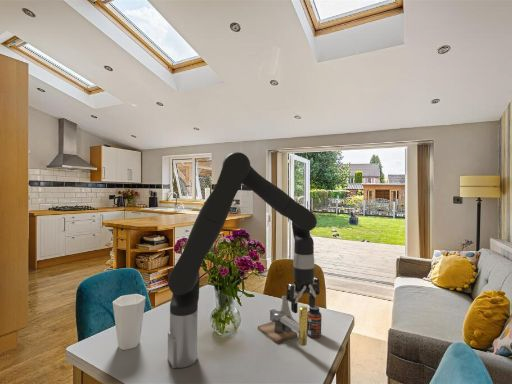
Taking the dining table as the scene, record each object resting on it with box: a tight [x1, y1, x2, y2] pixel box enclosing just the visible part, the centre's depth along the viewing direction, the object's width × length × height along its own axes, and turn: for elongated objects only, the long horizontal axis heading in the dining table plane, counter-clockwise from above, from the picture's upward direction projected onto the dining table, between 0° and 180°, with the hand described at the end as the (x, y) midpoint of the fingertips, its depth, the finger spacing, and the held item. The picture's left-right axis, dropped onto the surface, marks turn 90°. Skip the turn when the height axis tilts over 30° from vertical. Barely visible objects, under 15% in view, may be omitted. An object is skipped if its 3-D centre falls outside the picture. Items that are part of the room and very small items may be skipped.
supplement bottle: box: [307, 305, 323, 339], centre depth 112 cm, size 6×6×11 cm
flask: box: [279, 295, 293, 320], centre depth 125 cm, size 7×7×10 cm
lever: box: [269, 305, 308, 347], centre depth 107 cm, size 20×5×13 cm, turn 34°
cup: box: [112, 293, 146, 351], centre depth 103 cm, size 11×10×17 cm
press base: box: [257, 315, 298, 345], centre depth 113 cm, size 13×10×7 cm
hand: (303, 309), depth 100 cm, fingers open, 8 cm apart
